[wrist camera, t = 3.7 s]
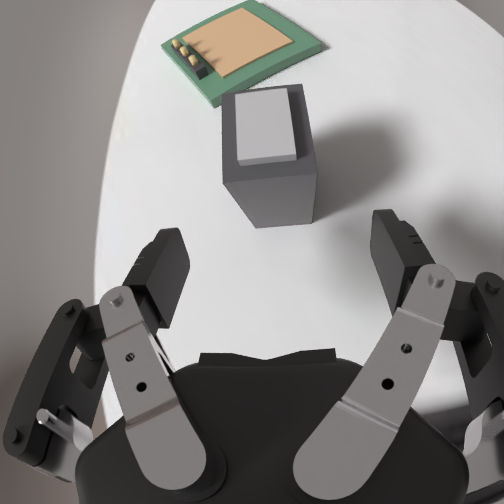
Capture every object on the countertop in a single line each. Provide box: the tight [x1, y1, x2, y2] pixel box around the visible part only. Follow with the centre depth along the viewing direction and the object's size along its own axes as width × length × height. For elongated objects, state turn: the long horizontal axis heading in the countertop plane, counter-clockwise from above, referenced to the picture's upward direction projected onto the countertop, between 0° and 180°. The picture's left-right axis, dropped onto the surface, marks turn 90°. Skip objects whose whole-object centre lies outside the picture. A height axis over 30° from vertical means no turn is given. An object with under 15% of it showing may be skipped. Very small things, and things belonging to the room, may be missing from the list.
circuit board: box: [161, 0, 321, 108], centre depth 22 cm, size 12×12×3 cm
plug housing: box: [222, 84, 317, 228], centre depth 16 cm, size 4×5×10 cm
